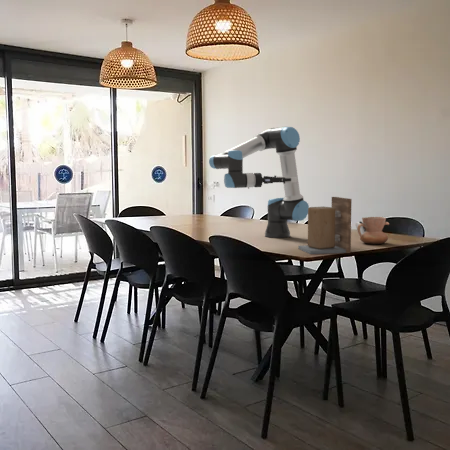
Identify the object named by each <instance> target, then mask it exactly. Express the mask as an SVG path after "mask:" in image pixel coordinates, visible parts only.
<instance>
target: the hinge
mask: <svg viewBox="0 0 450 450" xmlns="http://www.w3.org/2000/svg"><path fill="white" fill-rule="evenodd" d="M359 224H363V221H362V220H359V221H357V222H355V228H356V231H357V232H358V230H357V227H358V225H359ZM360 232H361V234H363V233H365V232H366V229H365V227H363V226H361V227H360Z"/></svg>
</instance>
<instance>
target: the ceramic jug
mask: <svg viewBox="0 0 450 450" xmlns="http://www.w3.org/2000/svg"><path fill="white" fill-rule="evenodd" d="M361 219H362V220H361V221H363V224H359V225H358V227H357V228H356V231H357V230H358V231H357V233H358V235H359V240H360V241H361V242H363V243H365V244H368V245H382V244H384V243H386V242H388V239H389V237H388V235H387V234H386V233H385V232H384V231H383V230H384V227H385V226H386V225H387V226H389V225H390V223H389V222H388V221H386V220H387V218H386V217H384V216H368V217H367V216H366V217H362V218H361ZM361 226H363V227H365V229H366V232H365V233H363V234H361V232H360V227H361Z"/></svg>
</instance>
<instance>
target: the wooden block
mask: <svg viewBox="0 0 450 450" xmlns="http://www.w3.org/2000/svg"><path fill="white" fill-rule="evenodd" d="M307 245H308V247H311V248H316V249H328V248H334V247H335V208H333V207H332V206H311V207H309V208H308V215H307Z"/></svg>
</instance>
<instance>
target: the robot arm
mask: <svg viewBox="0 0 450 450" xmlns="http://www.w3.org/2000/svg"><path fill="white" fill-rule="evenodd" d="M300 139H301V138H300V134H299V132H298V129H296V128H295V127H293V126H281V127H271V128H267V129H266V130H264V131H261V132H259V133H257V134H255V135H253V137H252V138H251V139H249V140H247V141H245V142H242V143H241V144H238V145H237V146H234V147H232V148H230V149H228V150H226V151H223V152H221V153H219V154H214V155H211V156H210V157H209V159H208V160H209V161H208V164H209V166H210V168H212V169H214V170H221V169H223V170H225V169H227V170H228V171H227V172H228V173H225V174H224V175H223V184H224V187H225V188H228V189H242V188H243V189H245V188H247V189H248V190H249V189H250V188H261V187H262V186H263V184H267V185H268V184H273V183H283V189H284V190H283V191H284V197H277V198H270V199H268V201H267V225H266V229H265V232H264V236H265V238H277V239H278V238H289V237H291V231H290V229H289V225H288V221H295V222H298V221H299V222H300V221H304V220H305V219H306V218H307V217H308V208H310V207H309V206H310V205H309V203H308V202H307V201H306V200H305V199H304V196H303V195H302V194H301V192H300V190H301V189H300V184H299V178H298V169H297V161H296V152H297V150H298V149H297V148H298V146H299V145H300V142H301V140H300ZM268 149H269V150H270V149H271V150H272V149H275V151H276V154H277V155H279V162H280V169H281V175H282V176H277V175H274V176H269V175H267V176H265V175H264V176H263V175H262V173H260V172H254V173H253V172H246V173H245V172H244V170H243V169H244V167H243V160H244V158H246V157H249V156H250V155H252V154H254V153H257V152H259V151H260V152H262V151H265V150H268ZM243 172H244V173H243Z"/></svg>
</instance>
